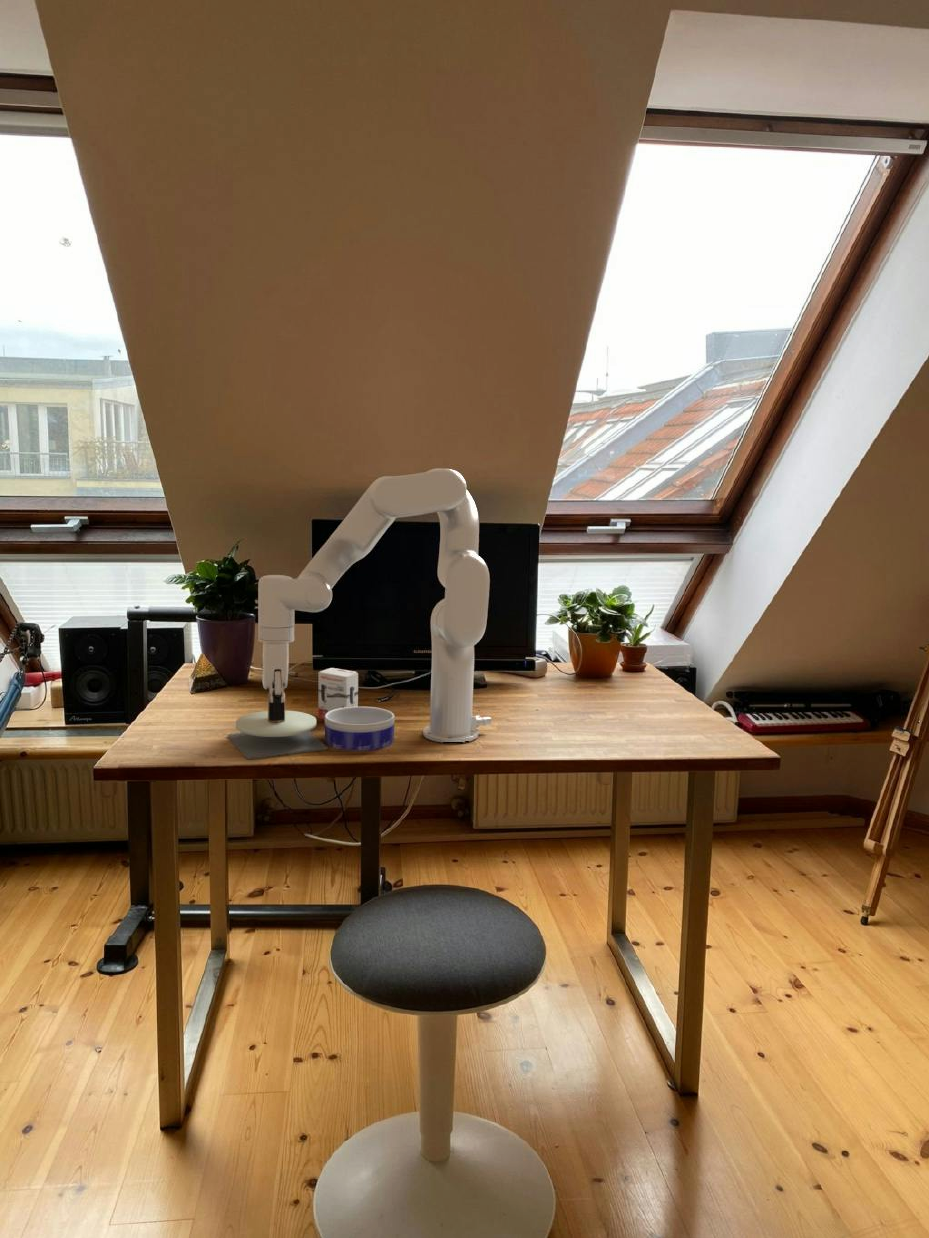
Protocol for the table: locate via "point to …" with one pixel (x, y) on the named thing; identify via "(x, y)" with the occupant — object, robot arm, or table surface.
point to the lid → (275, 723)
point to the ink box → (337, 690)
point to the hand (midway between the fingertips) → (276, 716)
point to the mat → (275, 744)
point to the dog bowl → (359, 728)
